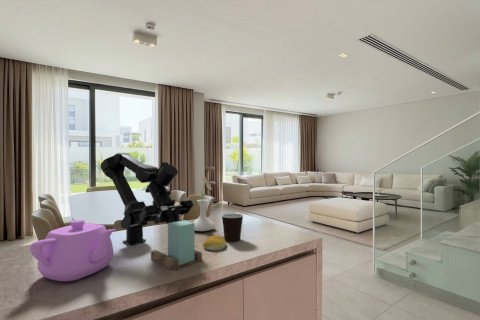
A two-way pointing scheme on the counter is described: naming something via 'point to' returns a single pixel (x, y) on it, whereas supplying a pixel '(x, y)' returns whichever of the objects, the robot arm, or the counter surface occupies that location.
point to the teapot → (73, 251)
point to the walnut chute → (172, 262)
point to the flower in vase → (203, 213)
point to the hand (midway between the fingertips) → (177, 230)
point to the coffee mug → (232, 226)
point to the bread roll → (214, 243)
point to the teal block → (181, 241)
